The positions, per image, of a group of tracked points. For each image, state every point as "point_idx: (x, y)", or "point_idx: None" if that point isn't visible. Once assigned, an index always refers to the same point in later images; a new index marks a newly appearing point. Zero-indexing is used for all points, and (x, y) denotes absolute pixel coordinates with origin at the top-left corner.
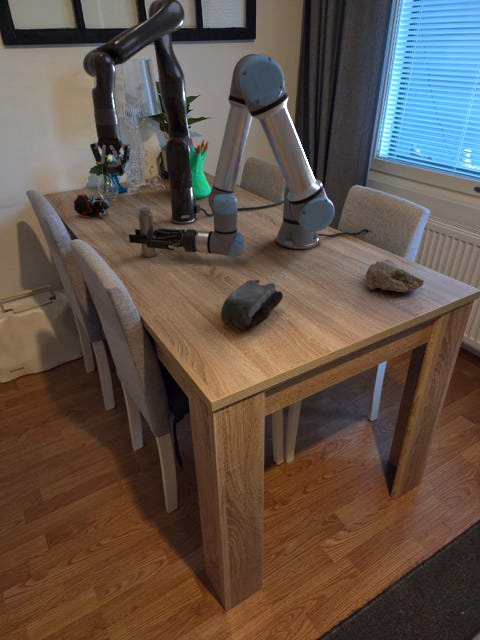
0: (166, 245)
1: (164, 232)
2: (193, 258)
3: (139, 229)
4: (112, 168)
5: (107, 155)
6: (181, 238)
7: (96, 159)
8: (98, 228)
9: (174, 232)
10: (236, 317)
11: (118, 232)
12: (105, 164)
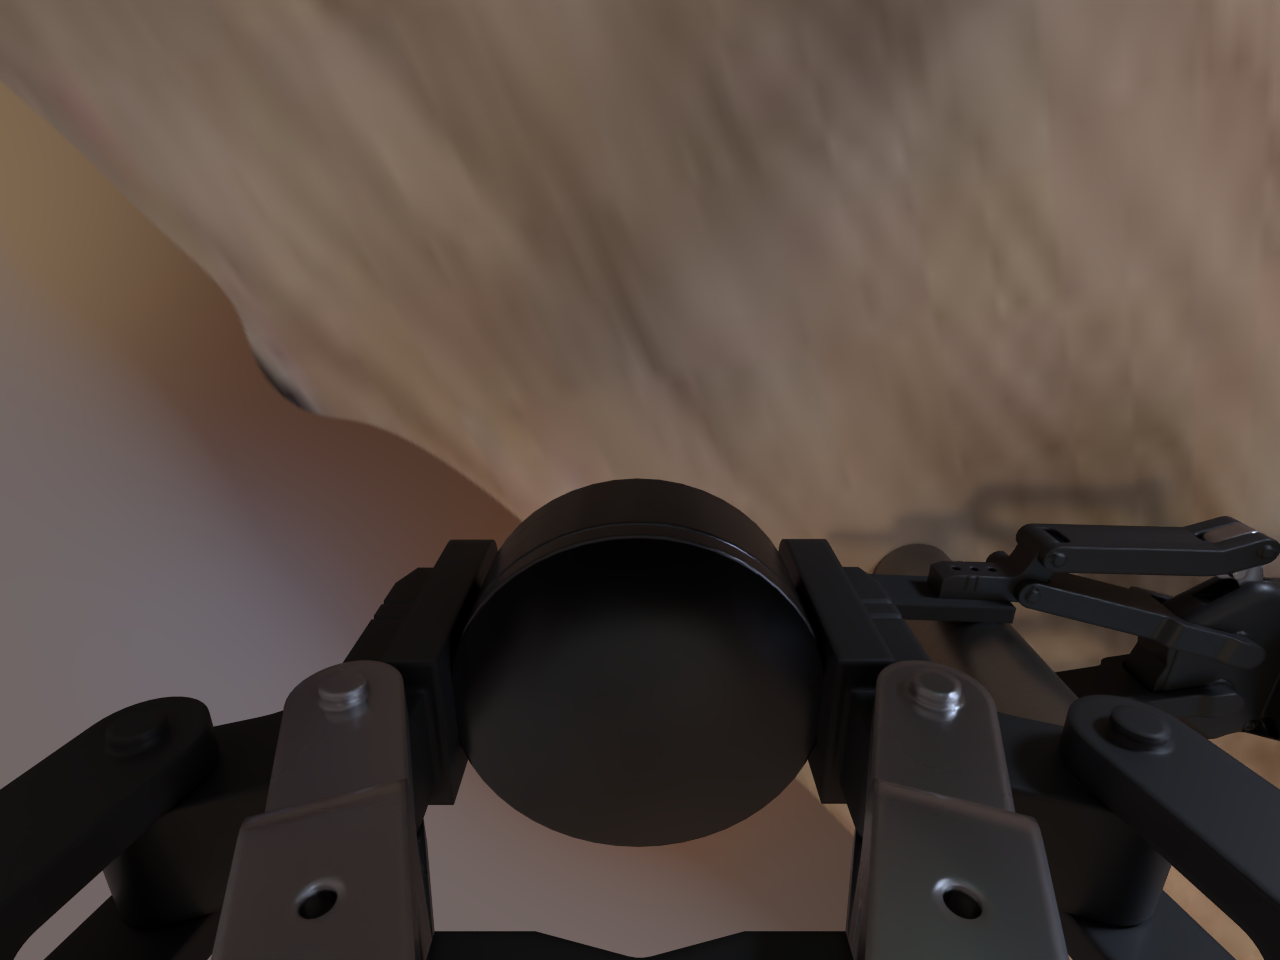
0: None
1: (1107, 621)
2: (1200, 583)
3: (898, 606)
4: (692, 820)
5: (423, 896)
6: (1242, 695)
7: (164, 927)
8: (329, 160)
9: (1199, 641)
10: None
11: (547, 224)
12: (453, 775)
